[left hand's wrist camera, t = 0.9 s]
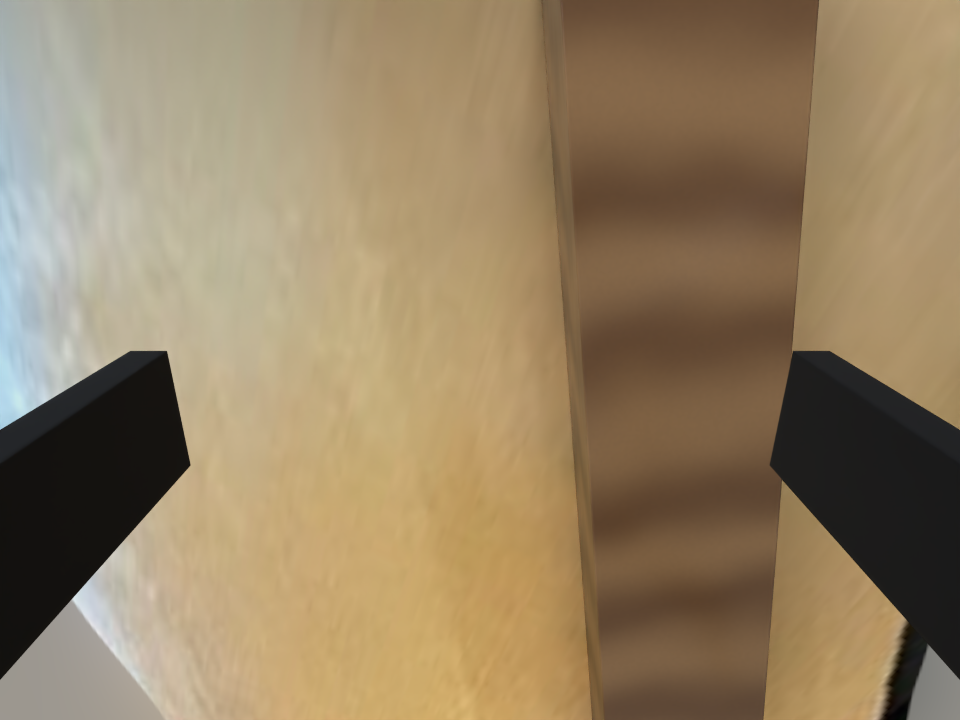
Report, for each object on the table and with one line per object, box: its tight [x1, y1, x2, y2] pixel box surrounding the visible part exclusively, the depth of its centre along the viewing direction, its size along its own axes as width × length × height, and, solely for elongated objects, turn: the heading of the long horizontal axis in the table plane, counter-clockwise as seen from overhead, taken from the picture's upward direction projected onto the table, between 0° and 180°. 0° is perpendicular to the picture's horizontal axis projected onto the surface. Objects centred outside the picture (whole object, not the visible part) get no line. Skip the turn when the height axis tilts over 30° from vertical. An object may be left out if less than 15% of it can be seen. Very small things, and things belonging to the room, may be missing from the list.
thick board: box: [541, 0, 819, 720], centre depth 33 cm, size 51×10×6 cm, turn 7°
